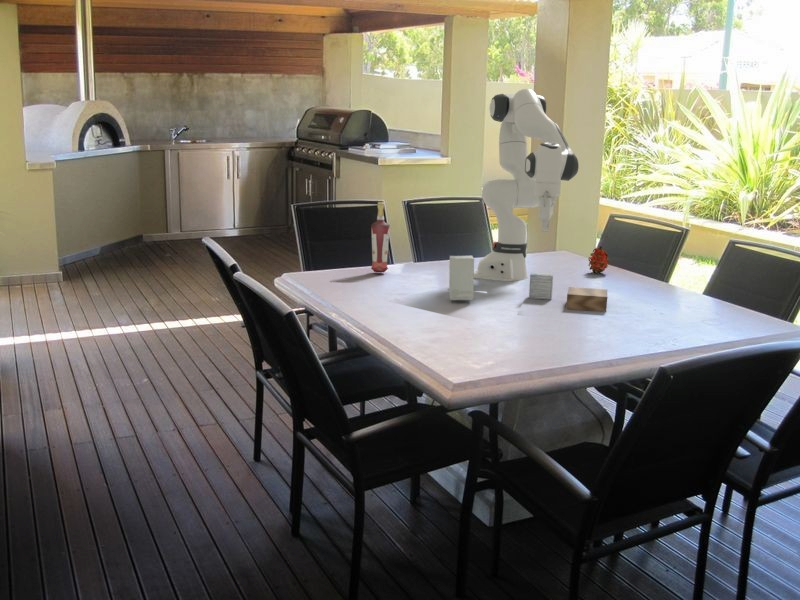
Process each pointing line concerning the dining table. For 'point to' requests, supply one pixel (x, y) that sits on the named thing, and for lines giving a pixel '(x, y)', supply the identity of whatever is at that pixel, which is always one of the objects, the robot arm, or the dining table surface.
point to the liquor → (380, 241)
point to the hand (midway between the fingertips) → (544, 230)
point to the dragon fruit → (598, 260)
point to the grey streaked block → (541, 286)
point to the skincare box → (461, 278)
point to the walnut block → (587, 299)
